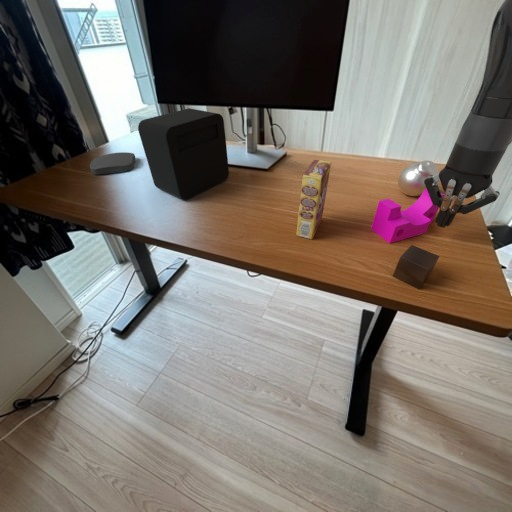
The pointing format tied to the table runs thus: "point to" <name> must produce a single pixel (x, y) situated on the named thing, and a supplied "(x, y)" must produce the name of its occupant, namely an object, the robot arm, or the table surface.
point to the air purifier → (185, 151)
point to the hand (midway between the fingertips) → (441, 225)
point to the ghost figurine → (416, 177)
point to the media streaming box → (113, 163)
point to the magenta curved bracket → (403, 218)
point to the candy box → (312, 198)
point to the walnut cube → (415, 266)
